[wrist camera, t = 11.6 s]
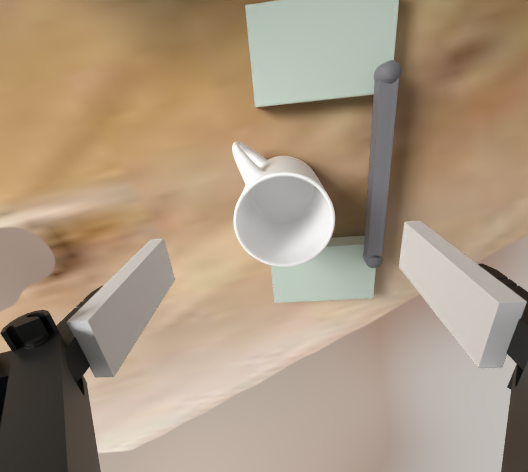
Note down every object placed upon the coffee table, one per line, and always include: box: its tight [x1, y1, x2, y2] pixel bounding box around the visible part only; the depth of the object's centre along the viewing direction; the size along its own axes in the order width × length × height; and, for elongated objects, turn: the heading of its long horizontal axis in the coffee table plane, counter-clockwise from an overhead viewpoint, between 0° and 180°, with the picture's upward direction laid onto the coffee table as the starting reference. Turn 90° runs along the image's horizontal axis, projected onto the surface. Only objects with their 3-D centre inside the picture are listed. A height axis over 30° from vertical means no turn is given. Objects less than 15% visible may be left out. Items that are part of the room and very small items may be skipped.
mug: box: [232, 142, 335, 267], centre depth 27 cm, size 9×12×11 cm
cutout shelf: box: [245, 0, 401, 303], centre depth 30 cm, size 32×13×4 cm, turn 5°
